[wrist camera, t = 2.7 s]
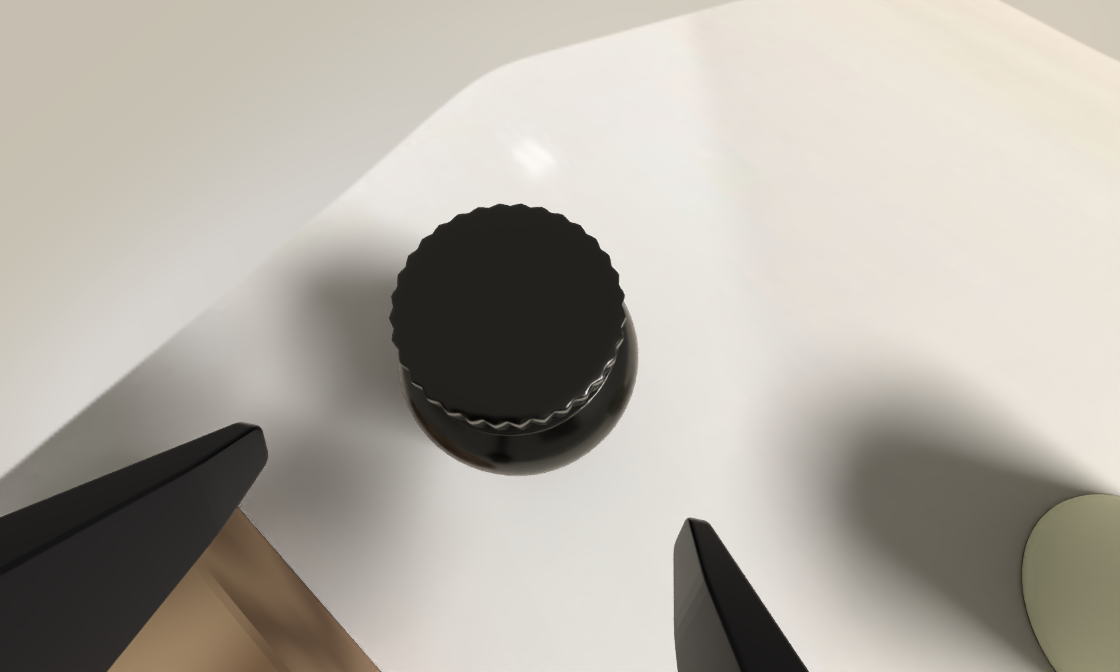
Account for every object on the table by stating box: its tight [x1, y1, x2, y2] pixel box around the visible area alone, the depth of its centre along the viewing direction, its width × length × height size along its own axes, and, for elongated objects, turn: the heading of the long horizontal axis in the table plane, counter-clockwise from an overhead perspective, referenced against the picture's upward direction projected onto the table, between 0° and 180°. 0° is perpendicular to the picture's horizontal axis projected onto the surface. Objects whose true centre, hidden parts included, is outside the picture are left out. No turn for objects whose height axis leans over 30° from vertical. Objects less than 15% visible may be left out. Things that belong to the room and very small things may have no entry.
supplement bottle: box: [389, 204, 638, 476], centre depth 14 cm, size 7×7×12 cm
